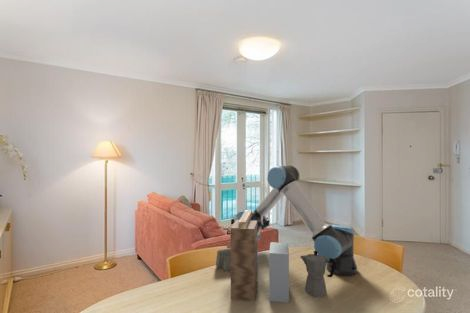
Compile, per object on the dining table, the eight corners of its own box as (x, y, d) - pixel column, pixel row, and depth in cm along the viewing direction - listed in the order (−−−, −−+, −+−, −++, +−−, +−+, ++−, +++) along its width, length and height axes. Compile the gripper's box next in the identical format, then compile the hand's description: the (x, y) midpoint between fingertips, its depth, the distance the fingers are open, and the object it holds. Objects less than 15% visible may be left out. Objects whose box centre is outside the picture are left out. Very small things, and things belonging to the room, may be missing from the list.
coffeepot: (298, 293, 120) (298, 252, 120) (301, 284, 129) (301, 245, 128) (336, 300, 114) (336, 257, 114) (337, 290, 123) (337, 249, 123)
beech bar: (251, 216, 137) (251, 210, 137) (245, 229, 113) (245, 221, 113) (245, 215, 137) (245, 209, 137) (238, 228, 114) (238, 221, 114)
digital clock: (244, 263, 154) (244, 244, 154) (247, 269, 145) (247, 249, 145) (215, 264, 152) (215, 245, 152) (216, 271, 143) (216, 251, 143)
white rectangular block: (288, 286, 127) (288, 243, 126) (288, 302, 113) (288, 254, 112) (270, 285, 128) (270, 242, 128) (269, 301, 114) (269, 253, 114)
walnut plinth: (257, 285, 128) (257, 220, 127) (254, 301, 114) (254, 228, 114) (236, 283, 130) (236, 219, 129) (230, 299, 116) (230, 227, 115)
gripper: (274, 236, 153) (272, 226, 135) (230, 234, 158) (223, 224, 140) (274, 223, 157) (273, 211, 139) (231, 221, 161) (224, 209, 143)
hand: (248, 217), depth 139 cm, fingers open, 13 cm apart
